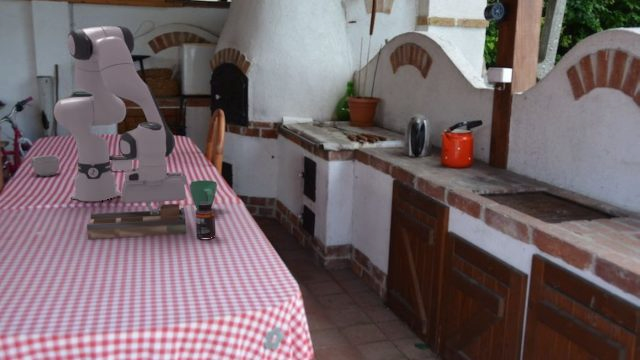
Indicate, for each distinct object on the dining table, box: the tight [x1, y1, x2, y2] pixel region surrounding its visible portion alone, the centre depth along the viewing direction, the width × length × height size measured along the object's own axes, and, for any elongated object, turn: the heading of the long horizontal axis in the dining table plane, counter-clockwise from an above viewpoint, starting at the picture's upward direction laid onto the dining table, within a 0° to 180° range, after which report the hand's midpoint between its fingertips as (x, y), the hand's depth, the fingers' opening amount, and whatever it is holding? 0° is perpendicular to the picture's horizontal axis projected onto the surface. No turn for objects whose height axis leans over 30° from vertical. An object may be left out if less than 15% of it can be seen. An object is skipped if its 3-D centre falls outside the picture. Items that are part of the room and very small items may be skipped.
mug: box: [189, 179, 218, 211], centre depth 229 cm, size 15×10×10 cm
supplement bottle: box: [195, 202, 216, 239], centre depth 200 cm, size 6×6×11 cm
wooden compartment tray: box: [86, 207, 187, 240], centre depth 207 cm, size 13×30×5 cm, turn 104°
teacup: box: [29, 154, 60, 177], centre depth 283 cm, size 14×11×8 cm
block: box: [159, 203, 180, 220], centre depth 208 cm, size 6×6×4 cm
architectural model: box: [109, 154, 133, 172], centre depth 294 cm, size 20×25×10 cm
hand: (154, 214), depth 207 cm, fingers closed
